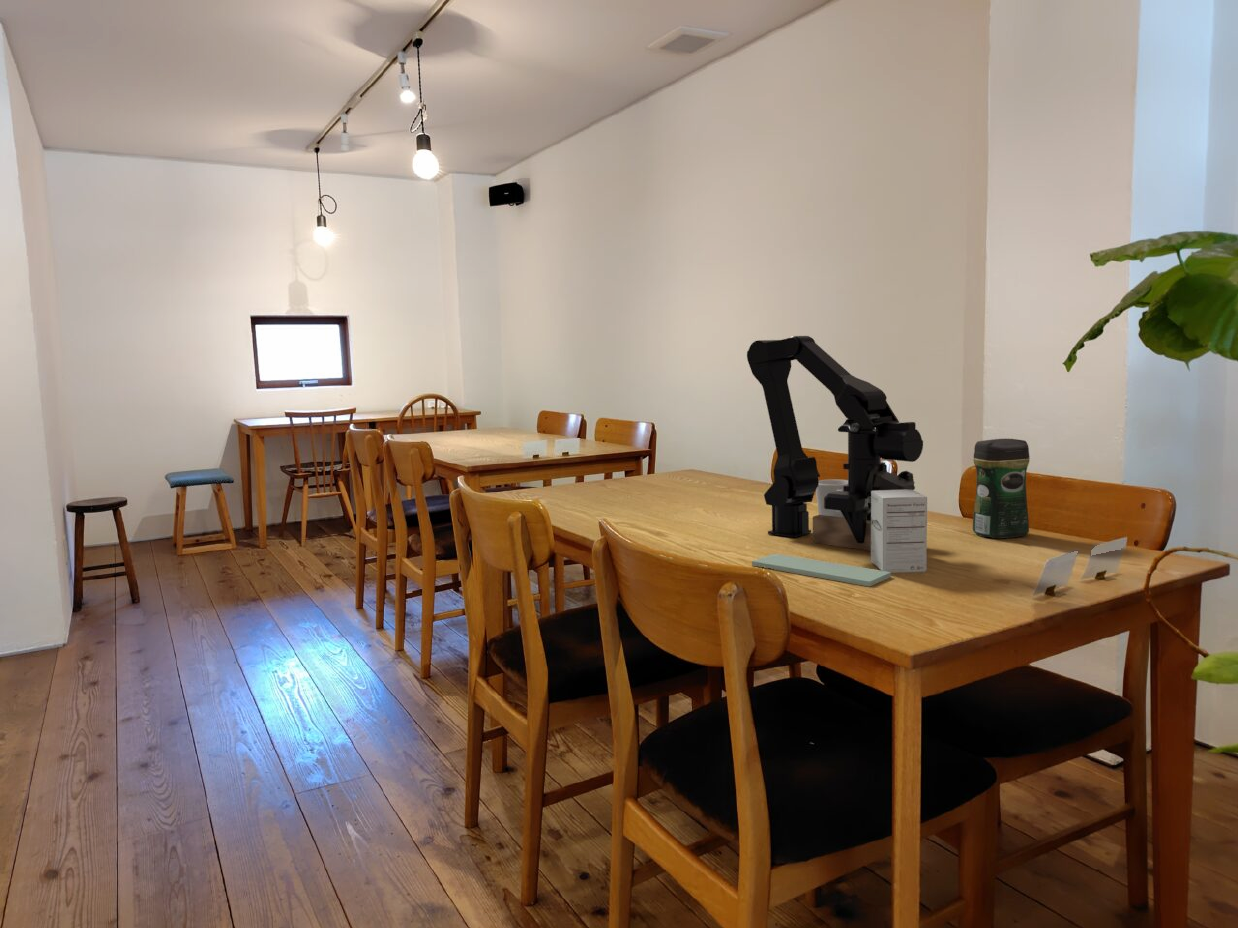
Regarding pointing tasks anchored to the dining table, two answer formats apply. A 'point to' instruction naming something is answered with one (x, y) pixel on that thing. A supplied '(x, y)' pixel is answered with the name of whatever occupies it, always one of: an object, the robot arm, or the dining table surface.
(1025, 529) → the coffee jar
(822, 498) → the cup
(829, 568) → the tool mat
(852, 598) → the dining table surface
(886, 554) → the supplement box
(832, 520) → the wooden plank
